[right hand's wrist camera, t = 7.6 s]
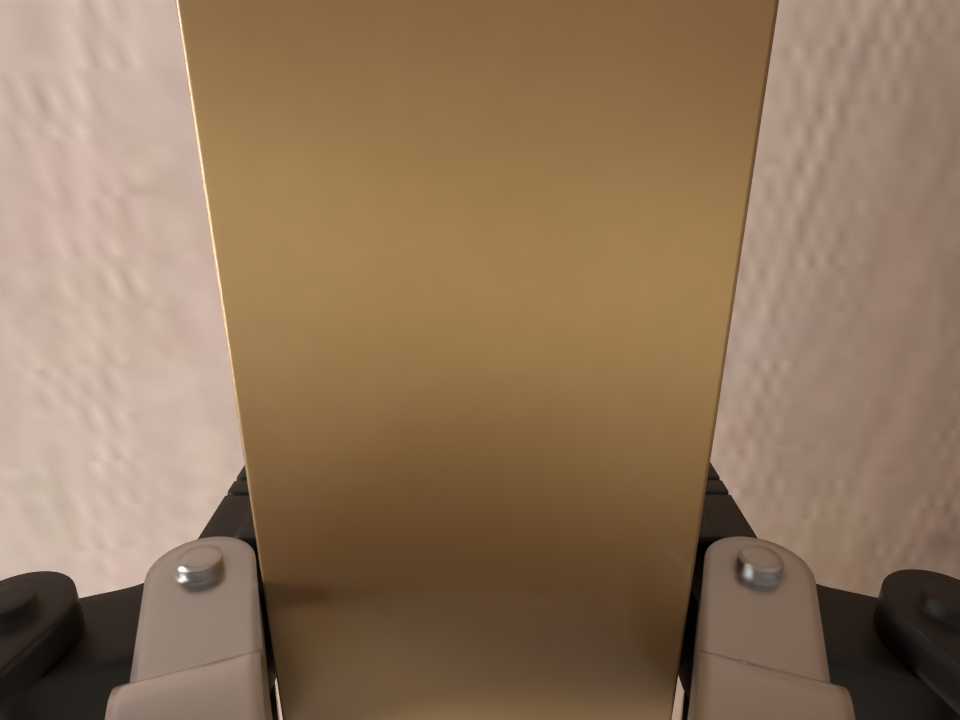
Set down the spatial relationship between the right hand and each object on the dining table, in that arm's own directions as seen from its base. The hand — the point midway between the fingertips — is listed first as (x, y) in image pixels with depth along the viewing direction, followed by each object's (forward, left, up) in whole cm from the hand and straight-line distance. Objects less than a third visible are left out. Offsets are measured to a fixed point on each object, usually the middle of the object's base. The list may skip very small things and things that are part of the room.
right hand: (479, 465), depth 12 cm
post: (+19, -9, -4) cm, 21 cm away
